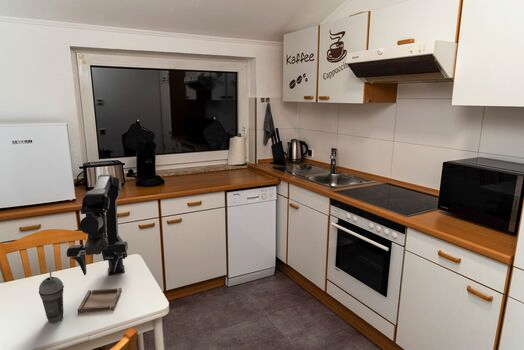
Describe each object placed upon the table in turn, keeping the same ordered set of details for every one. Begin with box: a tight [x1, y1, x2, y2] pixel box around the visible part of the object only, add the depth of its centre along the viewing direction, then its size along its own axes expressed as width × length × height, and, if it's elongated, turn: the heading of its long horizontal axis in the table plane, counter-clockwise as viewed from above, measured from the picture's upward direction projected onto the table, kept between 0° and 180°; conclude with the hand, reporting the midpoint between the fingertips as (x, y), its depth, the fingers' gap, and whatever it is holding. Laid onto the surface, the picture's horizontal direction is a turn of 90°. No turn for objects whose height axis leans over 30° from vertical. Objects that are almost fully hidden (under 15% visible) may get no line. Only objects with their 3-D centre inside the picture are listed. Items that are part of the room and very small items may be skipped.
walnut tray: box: [77, 287, 123, 314], centre depth 131 cm, size 12×12×2 cm
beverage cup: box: [38, 266, 65, 325], centre depth 119 cm, size 7×7×20 cm
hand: (99, 273), depth 124 cm, fingers open, 9 cm apart
